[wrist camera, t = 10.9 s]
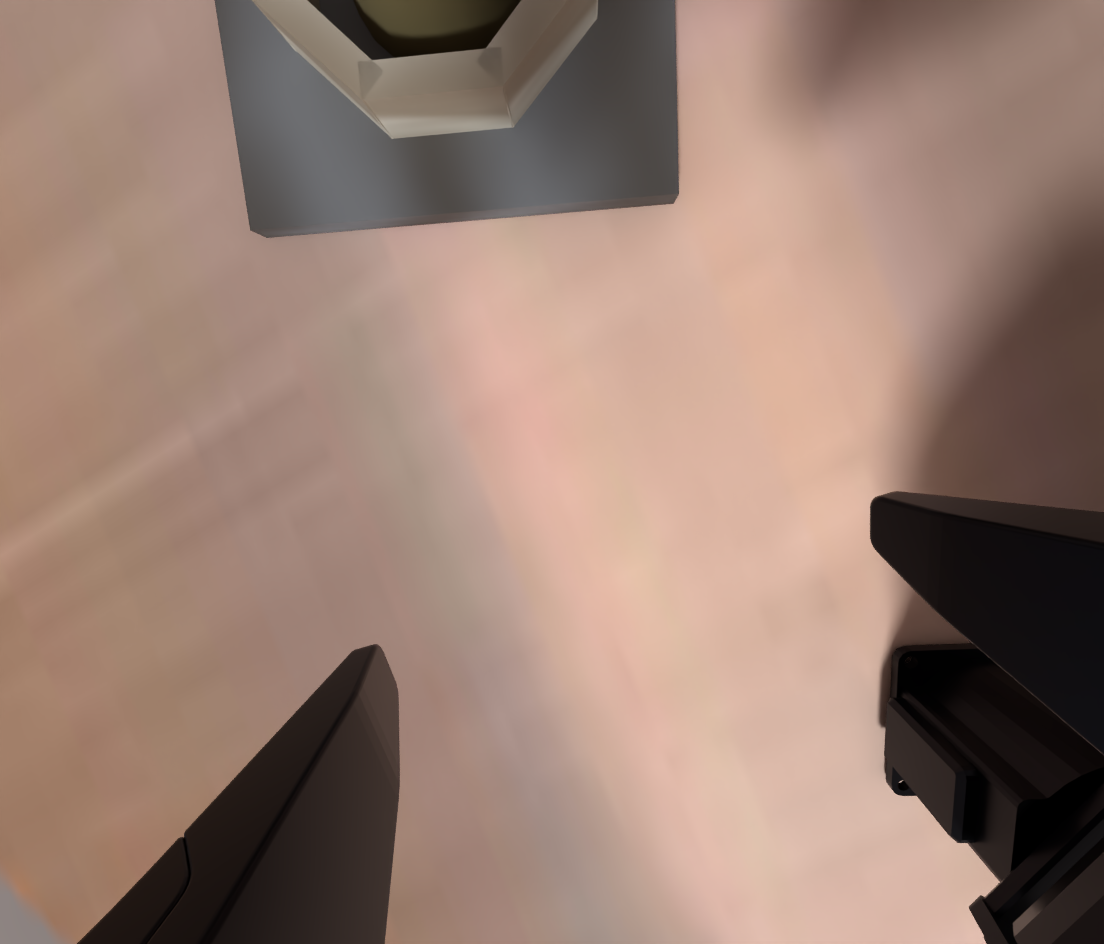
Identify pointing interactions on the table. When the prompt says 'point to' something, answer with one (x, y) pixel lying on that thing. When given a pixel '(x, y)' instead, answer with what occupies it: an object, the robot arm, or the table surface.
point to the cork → (433, 24)
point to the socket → (449, 116)
